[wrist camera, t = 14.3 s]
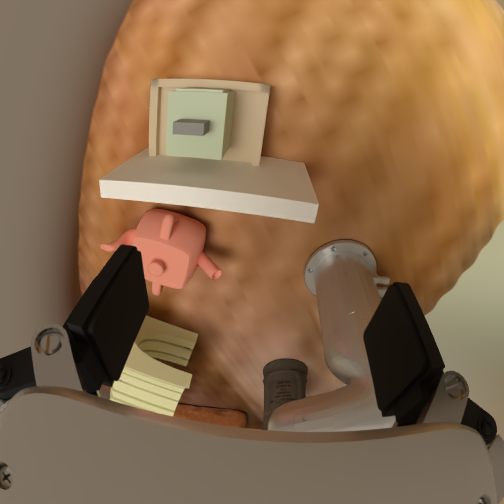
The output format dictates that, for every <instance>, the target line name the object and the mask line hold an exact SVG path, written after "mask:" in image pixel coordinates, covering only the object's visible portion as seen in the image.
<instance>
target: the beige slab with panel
mask: <svg viewBox="0 0 504 504" xmlns="http://www.w3.org/2000/svg"><path fill="white" fill-rule="evenodd" d="M189 87H190V88H216V89H230V91H232V92H235V101H234V110H233V120H232V129H231V139H230V148H229V149H228V151H227V152H226V154H225V155H224V157H223V158H222V160H215V159H204V158H192V157H179V156H166V127H167V105H168V91H174V90H176V89H178V88H189ZM270 87H271V85H266V84H258V83H249V82H239V81H227V80H210V79H151V94H150V115H149V147H148V148H146V149H145V150H143V151H141V152H140V153H138V154H137V155H135V156H133V157H132V158H130V159H129V160H127V161H126V162H124V163H123V164H121V165H120V166H118V167H117V168H115V169H114V170H112V171H111V172H110V173H108V174H107V175H105V176H104V177H102V178H101V179H100V180H99V183H100V192H101V197H103V198H114V199H126V200H136V201H146V202H156V203H166V204H175V205H184V206H192V207H201V208H209V209H217V210H225V211H232V212H240V213H247V214H255V215H262V216H269V217H275V218H282V219H289V220H295V221H302V222H308V223H314V222H315V219H316V215H317V211H318V207H319V203H318V200H317V197H316V194H315V192H314V189H313V186H312V183H311V180H310V177H309V175H308V172H307V169H306V166H305V164H304V163H302V162H296V161H290V160H284V159H278V158H271V157H264V156H261V151H262V144H263V137H264V129H265V122H266V115H267V108H268V101H269V94H270Z"/></svg>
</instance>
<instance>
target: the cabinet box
mask: <svg viewBox="0 0 504 504" xmlns="http://www.w3.org/2000/svg"><path fill="white" fill-rule="evenodd" d="M234 101H235V92H232V91H230V89H216V88H190V87H189V88H178V89H176V90H174V91H168V105H167V127H166V156H179V157H192V158H204V159H215V160H222V158H223V157H224V155H225V154H226V152H227V151H228V149H229V148H230V139H231V129H232V120H233V110H234Z"/></svg>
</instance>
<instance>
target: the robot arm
mask: <svg viewBox="0 0 504 504" xmlns="http://www.w3.org/2000/svg"><path fill="white" fill-rule="evenodd" d="M376 268H377V266H376V260H375V258H374V256H373V254H372V252H371V251H370V250H369V249H368V248H367V247H366V246H365V245H363V244H362V243H359V242H357V241H352V240H338V241H333V242H330V243H327V244H325V245H324V246H322V247H320V248H319V249H317V250H316V251H315V252H314V253H313V254H312V255H311V256H310V258H309V259H308V261H307V263H306V266H305V270H304V278H305V283H306V286H307V288H308V290H309V291H310V292H311V293H312V294H313V295H315V296H316V297H317V303H318V310H319V317H320V324H321V332H322V340H323V348H324V356H325V361H326V364H327V366H328V368H329V369H330V371H331V372H332V373H333V374H334V375H335V376H336V377H337V378H338V379H339V380H341V381H342V382H344V383H345V384H347V386H345V387H342V388H339V389H336V390H334V391H330V392H327V393H323V394H319V395H315V396H311V397H307V398H303V399H299V400H295V401H291V402H288V403H285V404H283V405H281V406H279V407H278V408H276V409H275V410H274V411H273V413H272V414H271V416H270V418H269V422H268V430H259V429H248V428H239V427H231V426H223V425H216V424H210V423H204V422H198V421H192V420H187V419H182V418H177V417H173V416H168V415H164V414H160V413H156V412H152V411H148V410H144V409H140V408H136V407H132V406H129V405H125V404H122V403H118V402H115V401H112V400H108V399H105V398H102V397H101V396H100V393H99V390H100V387H101V385H102V384H103V385H106V386H109V387H112V386H113V384H114V381H118V380H119V379H120V376H121V374H122V371H123V369H124V366H125V364H126V361H127V359H128V356H129V354H130V352H131V349H132V347H133V344H134V342H135V340H136V337H137V335H138V333H139V330H140V328H141V326H142V323H143V321H144V319H145V317H146V314H147V312H148V309H149V301H148V295H147V289H146V283H145V276H144V269H143V262H142V254H141V251H138V250H137V247H136V246H131V245H124V244H122V245H120V246H119V247H118V249H117V250H116V251H115V253H114V254H113V255H112V257H111V258H110V259H109V261H108V262H107V263H106V265H105V266H104V267H103V269H102V270H101V272H100V273H99V274H98V276H96V278H95V279H94V280H93V281H92V283H91V284H90V286H89V287H88V288H87V290H86V291H85V293H84V294H83V296H82V297H81V299H80V300H79V302H78V303H77V305H76V306H75V308H74V310H73V311H72V313H71V314H70V316H69V317H68V319H67V320H66V322H65V324H64V325H63V327H62V326H59V325H56V324H50V325H46V326H44V327H41V328H40V329H39V330H38V331H37V332H36V333H35V334H34V336H33V338H32V341H31V347H29V348H26V349H23V350H21V351H18V352H16V353H14V354H11V355H8V356H6V357H3V358H1V359H0V504H499V503H500V501H501V500H502V498H503V497H504V441H503V440H502V438H501V437H500V435H497V436H496V433H497V426H496V422H495V420H494V418H493V417H492V416H491V415H490V414H489V413H487V412H486V411H485V410H483V409H482V408H481V407H479V406H478V405H477V404H476V403H474V402H473V401H472V400H470V399H469V398H468V396H469V387H468V384H467V382H466V380H465V379H464V377H463V376H462V375H460V374H459V373H457V372H455V371H447V372H445V373H444V372H443V369H444V368H445V365H444V362H443V360H442V357H441V354H440V352H439V349H438V347H437V345H436V342H435V339H434V337H433V335H432V333H431V330H430V328H429V325H428V323H427V321H426V319H425V316H424V314H423V312H422V310H421V308H420V306H419V304H418V301H417V299H416V297H415V295H414V293H413V291H412V289H411V287H410V285H409V284H407V283H400V282H394V283H393V284H392V285H390V286H389V287H384V286H376V284H377V283H381V284H386V285H388V284H389V283H390V277H387V276H378V274H377V273H376ZM381 297H383V298H382V300H381Z"/></svg>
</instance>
